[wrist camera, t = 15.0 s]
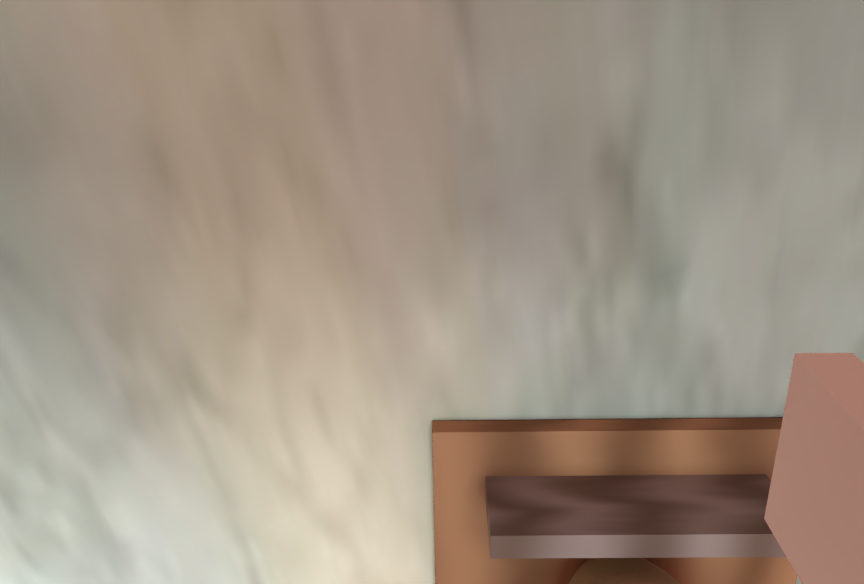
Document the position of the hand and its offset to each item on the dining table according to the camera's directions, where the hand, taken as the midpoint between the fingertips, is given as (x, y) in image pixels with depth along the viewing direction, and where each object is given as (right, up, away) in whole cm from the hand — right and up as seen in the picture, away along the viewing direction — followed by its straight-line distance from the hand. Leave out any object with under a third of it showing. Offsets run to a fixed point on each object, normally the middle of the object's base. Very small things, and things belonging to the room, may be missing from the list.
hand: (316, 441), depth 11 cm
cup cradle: (+13, -15, +38) cm, 43 cm away
